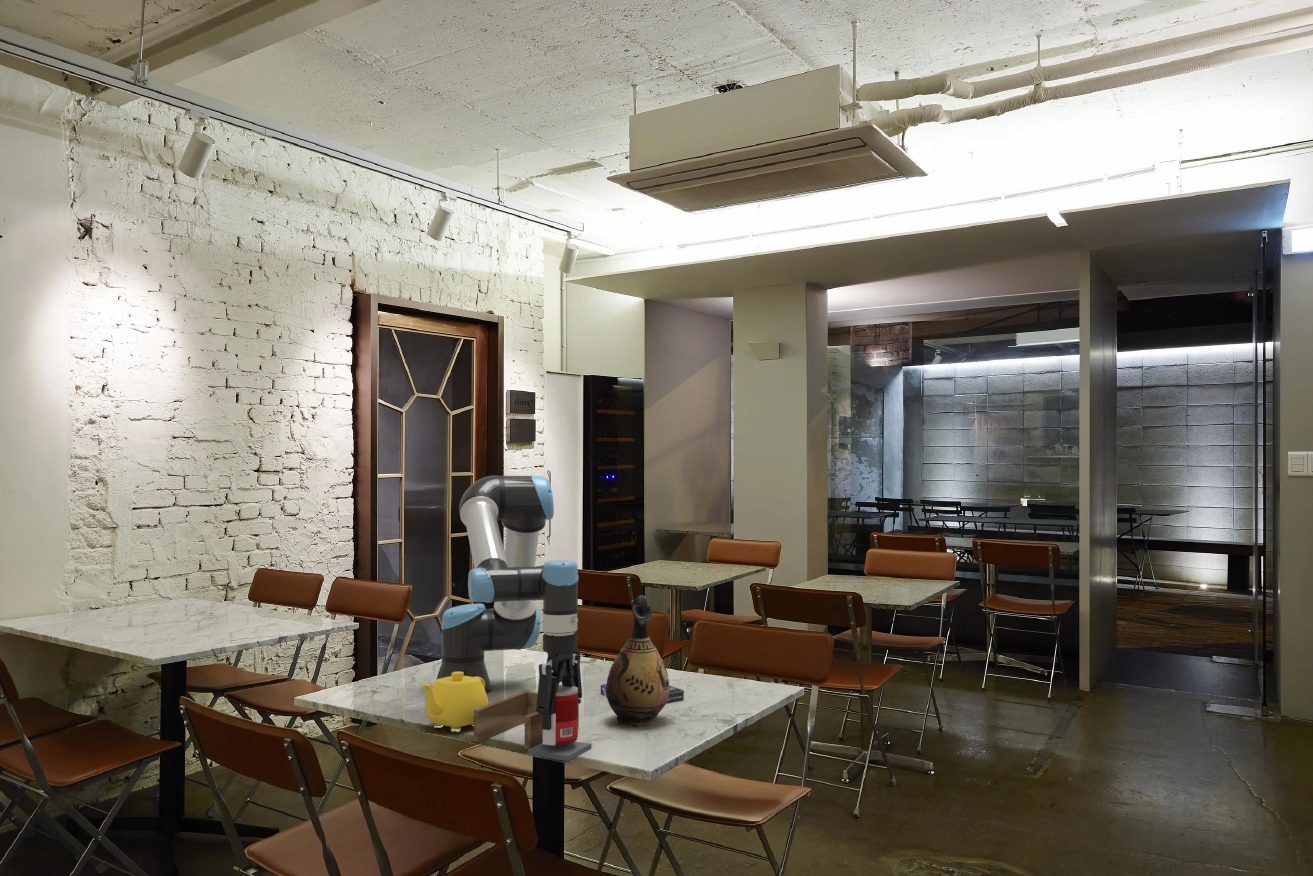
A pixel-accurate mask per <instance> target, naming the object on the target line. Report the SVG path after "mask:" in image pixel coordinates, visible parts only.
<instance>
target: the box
mask: <svg viewBox="0 0 1313 876" xmlns="http://www.w3.org/2000/svg"><path fill="white" fill-rule="evenodd" d="M606 684H607V683H604V684H600V695H602V696H605V697H607V696H606ZM669 687H670V688H669V695H668V699H667V703H666V704H671V703H676V702H681V701H684V699H685V690H684V689H681V688H679V687H675V686H672V685H669ZM666 704H665V705H666Z"/></svg>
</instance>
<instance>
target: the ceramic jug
mask: <svg viewBox="0 0 1313 876" xmlns="http://www.w3.org/2000/svg"><path fill="white" fill-rule="evenodd" d="M652 613H653V609H652V607H651V606H650V605H648V596H645V595H643V594H642V595H639V596H637V597H635V601H634V605H633V607H632V616H633V628H632V632H631V636H630V637H629V639H627V641H626V642H625V644H624V645H623V647H622V648H620V651H619V653H618V654H617V656H616V658H615V659H614V660H613V663H612V665H611V667H610V668H609V671H608V676H607V678H606V683H605V684H606V696H605V697H606V700H607V702H608V704H609V707H610V708H611V710H612V711H613V713H614V714H615V715H616V722H617V724H618V725H623V726H626V727H635V728H636V727H640V726H641V727H642V726H644V727H645V726H650V725H653V724H654V723H655V721H656V719H657V717H658V715H659V714H660V712H661V711H662V710H663V708H664V707H665V706H666V703H667V699H668V695H669V688H670V687H669V686H670V681H669V675H668V671H667V668H666V665H665V662H664V660H663V658H662V657H661V655H660V653H659V651H658V650H657V647H656V646H655V645H654V644H653V642H652V640H651V637H650V635H649V634H648V629H647V628H648V627H647V623H648V621H649V620H651V618H652ZM667 704H668V703H667Z"/></svg>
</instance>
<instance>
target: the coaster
mask: <svg viewBox="0 0 1313 876" xmlns="http://www.w3.org/2000/svg"><path fill="white" fill-rule="evenodd" d="M591 749H592V743H591V742H590V743H589V742H581V741H577V740H576V741H575V742H573V743H570V744H566V745H554V746H553V745H546V744H543V743H541V744H539V745H537V746H535V747H533V748H531V749H526V751H527V753H526V754H527V755H526V756H530V757H531V756H532V757H537V758H545V759H552V760H558V761H564V762H569V761H571V760H573V759H574V758H577V757H578V756H580V755H582V754H584V753H585V752H587V751H589V750H591Z"/></svg>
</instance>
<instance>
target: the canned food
mask: <svg viewBox="0 0 1313 876" xmlns="http://www.w3.org/2000/svg"><path fill="white" fill-rule="evenodd" d="M553 713H555V714H556V745H566V744H570V743H573V742H575V741H576V742H577V740H578V736H579V726H578V688H577V687H575V686H573V687H566V686H563V685H562V684H559V687H558V692H557V693H556V702H555V706H554V711H553ZM542 739H543V715H542Z"/></svg>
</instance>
